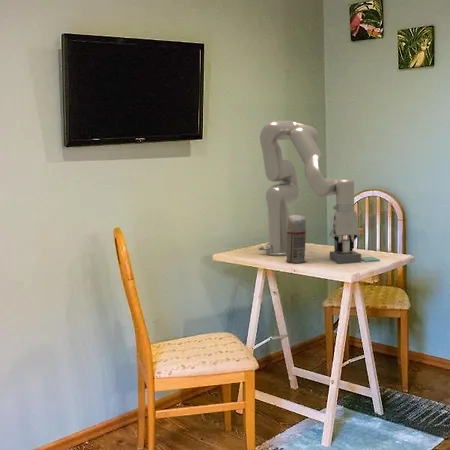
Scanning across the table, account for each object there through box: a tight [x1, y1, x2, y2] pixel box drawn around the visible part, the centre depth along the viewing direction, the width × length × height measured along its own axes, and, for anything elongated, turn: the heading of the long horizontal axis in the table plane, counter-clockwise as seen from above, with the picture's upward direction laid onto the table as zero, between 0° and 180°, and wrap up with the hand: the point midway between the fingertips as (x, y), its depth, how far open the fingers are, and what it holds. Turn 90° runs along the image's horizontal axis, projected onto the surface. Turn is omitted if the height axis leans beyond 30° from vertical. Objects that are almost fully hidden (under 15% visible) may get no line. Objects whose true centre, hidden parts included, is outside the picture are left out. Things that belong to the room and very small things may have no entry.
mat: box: [361, 256, 381, 263], centre depth 285 cm, size 7×7×1 cm
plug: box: [339, 238, 351, 254], centre depth 284 cm, size 5×5×9 cm
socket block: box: [329, 250, 362, 265], centre depth 284 cm, size 10×10×4 cm
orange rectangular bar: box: [334, 227, 364, 236], centre depth 292 cm, size 14×4×3 cm, turn 107°
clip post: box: [333, 236, 338, 251], centre depth 292 cm, size 5×5×10 cm
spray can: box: [285, 214, 307, 264], centre depth 284 cm, size 8×8×20 cm
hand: (345, 250), depth 284 cm, fingers closed on plug, 4 cm apart
